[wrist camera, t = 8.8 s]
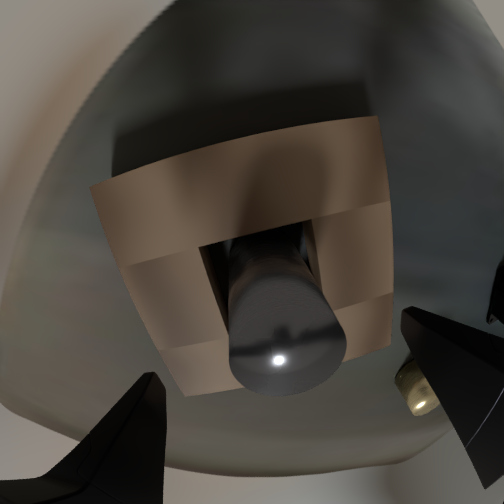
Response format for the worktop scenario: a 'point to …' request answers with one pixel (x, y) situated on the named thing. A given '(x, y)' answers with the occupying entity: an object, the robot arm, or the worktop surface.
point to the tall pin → (279, 319)
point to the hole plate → (247, 222)
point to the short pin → (416, 389)
